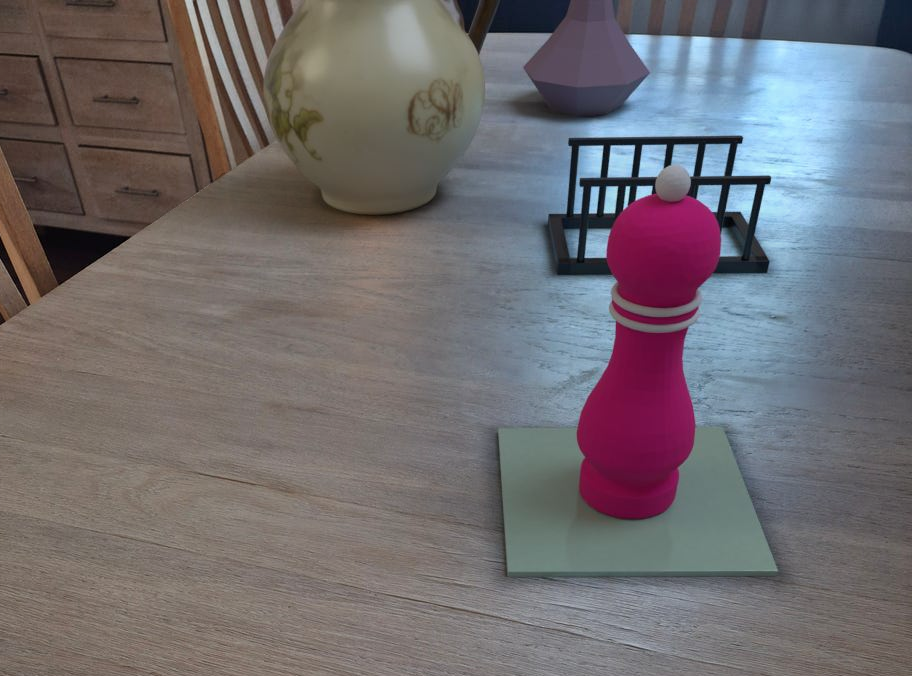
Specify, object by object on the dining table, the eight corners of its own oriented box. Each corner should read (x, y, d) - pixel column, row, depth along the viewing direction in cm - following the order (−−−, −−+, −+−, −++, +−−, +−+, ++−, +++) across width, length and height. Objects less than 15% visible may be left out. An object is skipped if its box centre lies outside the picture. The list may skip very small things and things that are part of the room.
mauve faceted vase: (593, 83, 134) (609, -96, 120) (672, 111, 123) (699, -81, 110) (496, 102, 128) (501, -84, 114) (570, 133, 117) (585, -66, 104)
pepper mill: (558, 512, 61) (589, 182, 47) (585, 453, 66) (620, 137, 52) (672, 534, 59) (739, 197, 45) (691, 471, 64) (756, 150, 50)
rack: (738, 223, 96) (756, 134, 90) (766, 274, 87) (789, 178, 81) (547, 225, 96) (553, 136, 91) (557, 276, 88) (564, 181, 82)
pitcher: (243, 223, 98) (198, -78, 81) (322, 151, 114) (299, -113, 97) (453, 243, 93) (453, -72, 76) (504, 165, 110) (514, -110, 92)
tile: (721, 432, 68) (722, 426, 68) (776, 577, 57) (778, 570, 56) (497, 434, 68) (498, 427, 68) (507, 578, 57) (507, 571, 57)
